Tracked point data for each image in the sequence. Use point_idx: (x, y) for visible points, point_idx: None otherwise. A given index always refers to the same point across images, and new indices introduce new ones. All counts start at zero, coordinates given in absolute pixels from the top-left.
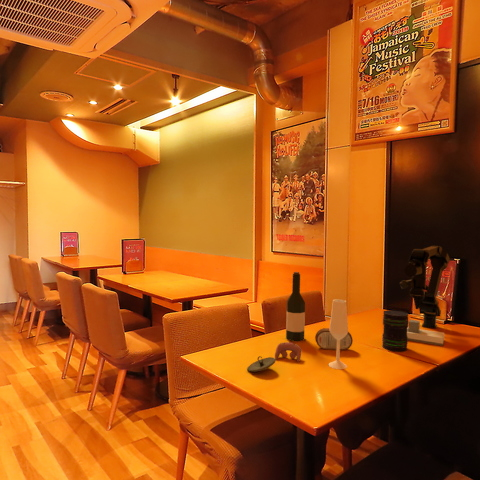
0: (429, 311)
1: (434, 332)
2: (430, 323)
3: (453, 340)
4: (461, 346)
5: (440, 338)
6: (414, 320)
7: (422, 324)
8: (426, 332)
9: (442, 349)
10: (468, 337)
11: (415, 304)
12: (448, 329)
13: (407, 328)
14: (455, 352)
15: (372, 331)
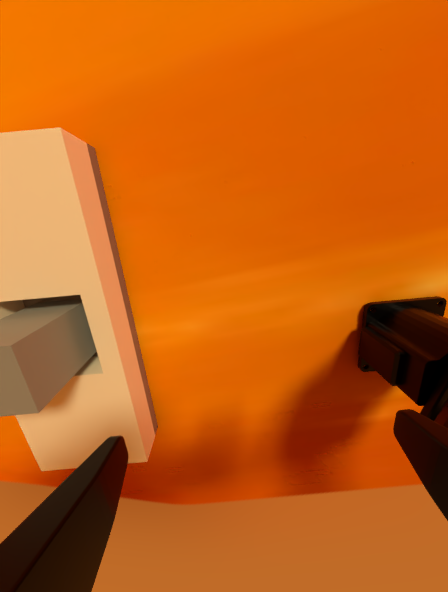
0: (437, 417)
1: (116, 428)
2: (371, 360)
3: (191, 449)
4: (124, 478)
5: (40, 458)
6: (12, 380)
7: (403, 301)
8: (78, 399)
9: (18, 440)
10: (280, 480)
11: (34, 519)
12: (378, 410)
13: (75, 293)
14: (24, 475)
15: (5, 26)
